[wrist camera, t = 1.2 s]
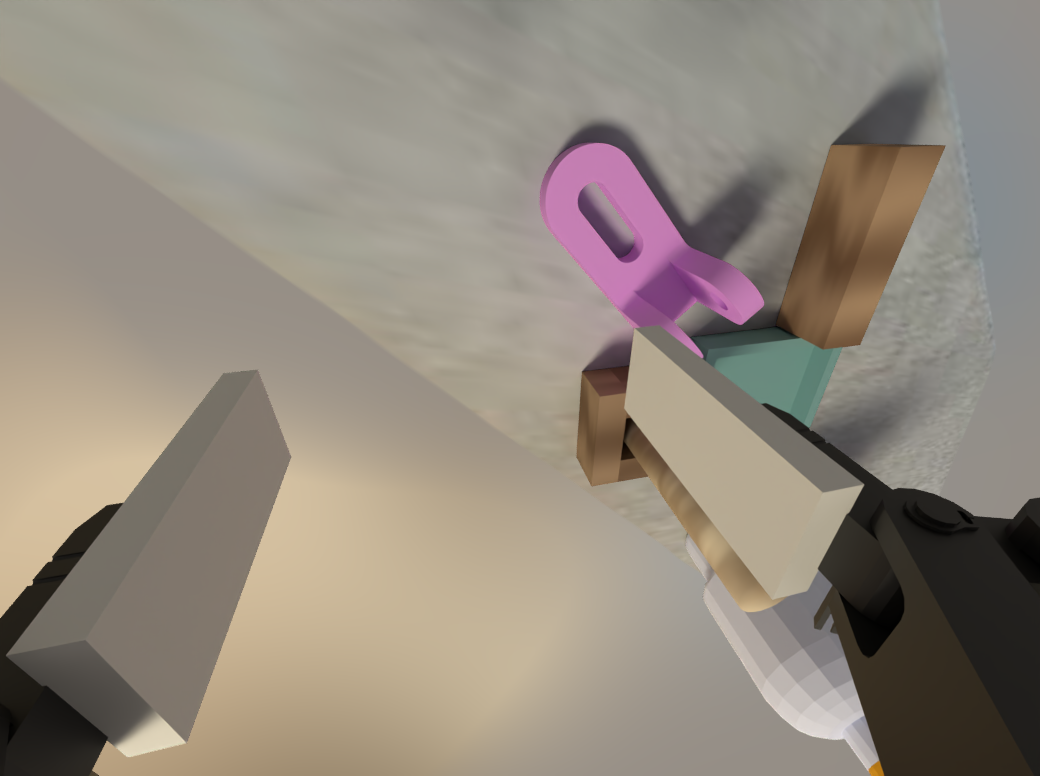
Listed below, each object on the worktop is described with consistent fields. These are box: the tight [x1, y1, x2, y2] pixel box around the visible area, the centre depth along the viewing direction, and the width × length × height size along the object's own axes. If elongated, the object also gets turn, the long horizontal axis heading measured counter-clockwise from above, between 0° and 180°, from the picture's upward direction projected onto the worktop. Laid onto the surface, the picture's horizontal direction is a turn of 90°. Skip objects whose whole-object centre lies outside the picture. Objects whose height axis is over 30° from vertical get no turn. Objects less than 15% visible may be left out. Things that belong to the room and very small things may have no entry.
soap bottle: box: [685, 534, 884, 776], centre depth 35 cm, size 10×10×24 cm
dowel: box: [623, 418, 788, 612], centre depth 27 cm, size 3×3×16 cm
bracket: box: [540, 143, 764, 358], centre depth 24 cm, size 13×6×7 cm, turn 43°
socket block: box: [577, 366, 648, 486], centre depth 32 cm, size 8×8×4 cm
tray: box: [691, 327, 842, 428], centre depth 35 cm, size 12×12×2 cm
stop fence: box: [776, 144, 945, 350], centre depth 28 cm, size 12×3×4 cm, turn 1°
